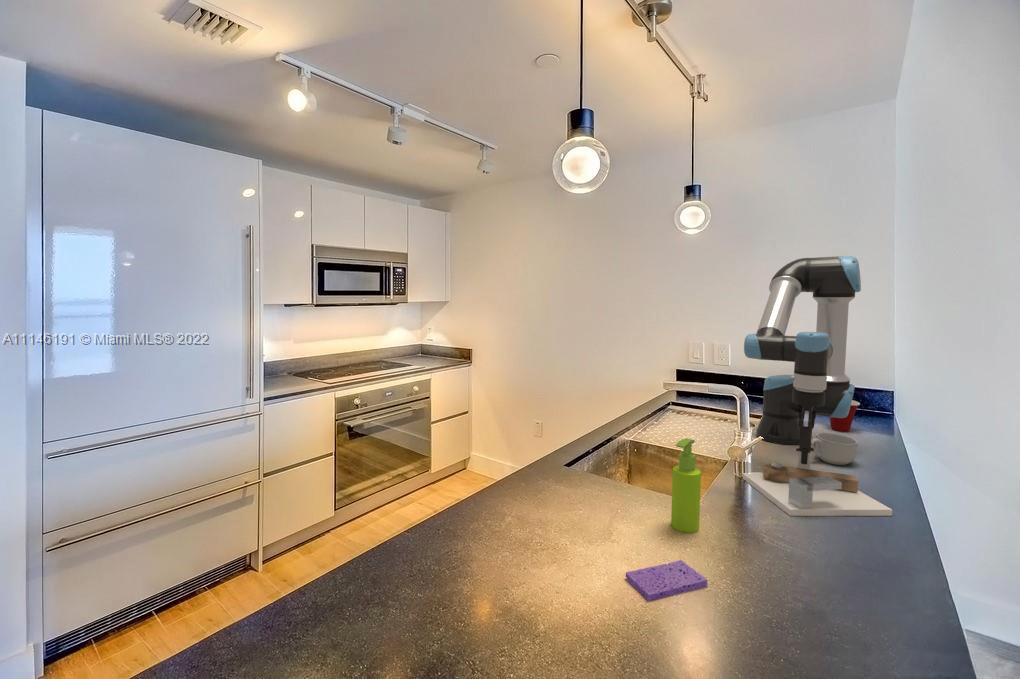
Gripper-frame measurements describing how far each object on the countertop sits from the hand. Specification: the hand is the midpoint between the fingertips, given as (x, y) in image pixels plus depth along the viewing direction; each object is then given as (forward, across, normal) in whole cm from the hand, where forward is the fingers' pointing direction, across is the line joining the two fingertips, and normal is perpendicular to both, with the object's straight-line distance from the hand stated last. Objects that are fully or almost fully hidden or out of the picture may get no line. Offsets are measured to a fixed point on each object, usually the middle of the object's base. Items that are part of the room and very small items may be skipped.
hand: (803, 474), depth 128 cm
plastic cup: (+4, -71, +8) cm, 72 cm away
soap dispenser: (+3, +43, -20) cm, 48 cm away
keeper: (+3, +16, +3) cm, 17 cm away
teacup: (+3, -26, +6) cm, 27 cm away
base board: (+3, +7, +2) cm, 8 cm away
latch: (+1, +3, +1) cm, 3 cm away
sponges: (+4, +66, -17) cm, 68 cm away
